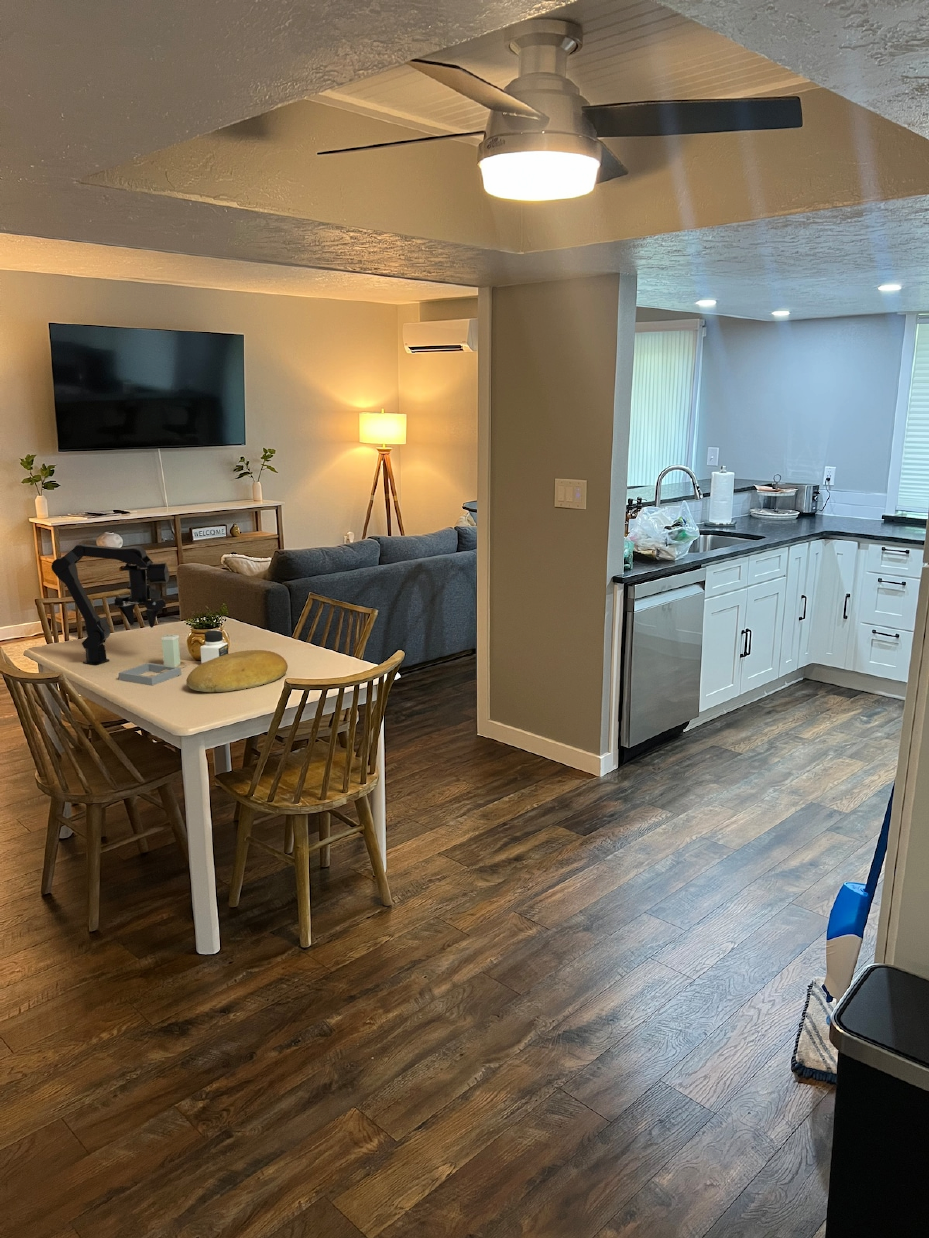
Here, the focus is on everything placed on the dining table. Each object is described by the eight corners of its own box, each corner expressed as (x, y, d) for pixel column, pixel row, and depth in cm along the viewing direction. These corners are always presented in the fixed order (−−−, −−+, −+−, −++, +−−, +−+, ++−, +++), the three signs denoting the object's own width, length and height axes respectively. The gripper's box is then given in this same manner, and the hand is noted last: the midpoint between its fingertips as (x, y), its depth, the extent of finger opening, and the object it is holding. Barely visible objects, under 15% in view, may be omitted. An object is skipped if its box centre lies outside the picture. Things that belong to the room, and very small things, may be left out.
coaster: (149, 668, 317) (149, 667, 317) (170, 661, 325) (170, 660, 325) (172, 671, 312) (171, 670, 312) (192, 664, 321) (192, 663, 321)
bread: (177, 689, 294) (175, 659, 292) (268, 666, 319) (266, 639, 317) (208, 701, 282) (206, 670, 280) (300, 676, 307) (299, 648, 305)
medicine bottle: (220, 667, 318) (218, 634, 315) (201, 666, 319) (198, 633, 316) (229, 661, 325) (227, 629, 322) (210, 660, 326) (208, 628, 323)
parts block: (160, 677, 307) (160, 671, 306) (166, 675, 310) (166, 669, 309) (167, 678, 306) (167, 672, 305) (173, 676, 309) (173, 670, 308)
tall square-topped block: (163, 666, 317) (161, 637, 315) (169, 663, 321) (167, 634, 319) (174, 667, 316) (172, 638, 314) (180, 664, 321) (178, 635, 318)
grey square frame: (119, 680, 303) (118, 672, 303) (148, 669, 315) (148, 662, 315) (152, 685, 297) (151, 678, 297) (181, 674, 309) (180, 667, 309)
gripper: (175, 580, 322) (178, 623, 326) (135, 576, 330) (138, 618, 333) (152, 586, 312) (155, 630, 316) (111, 582, 320) (115, 625, 323)
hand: (142, 626), depth 322 cm, fingers open, 9 cm apart
